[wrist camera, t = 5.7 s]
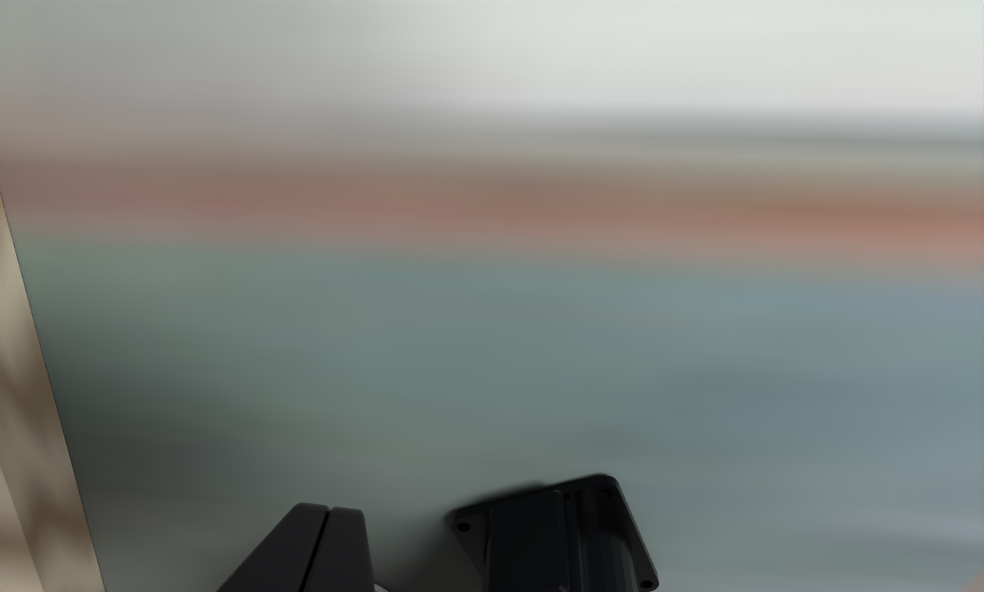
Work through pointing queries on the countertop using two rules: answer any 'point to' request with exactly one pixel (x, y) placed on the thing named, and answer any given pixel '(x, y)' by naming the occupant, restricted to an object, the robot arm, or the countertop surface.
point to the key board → (35, 459)
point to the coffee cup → (379, 588)
